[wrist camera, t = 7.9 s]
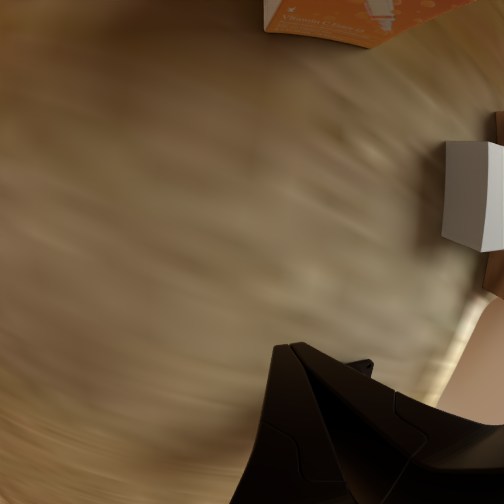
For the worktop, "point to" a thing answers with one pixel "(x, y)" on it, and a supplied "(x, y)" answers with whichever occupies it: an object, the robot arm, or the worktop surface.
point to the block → (474, 195)
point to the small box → (352, 18)
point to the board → (499, 261)
